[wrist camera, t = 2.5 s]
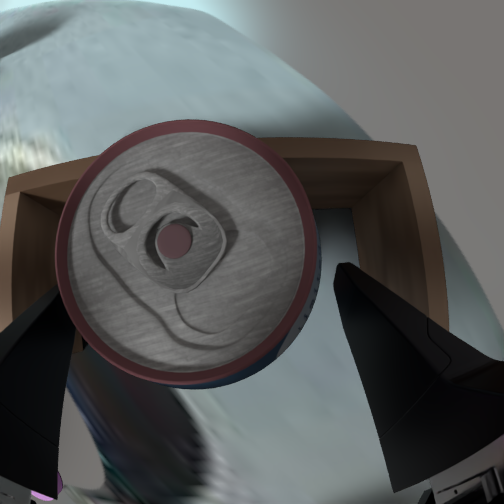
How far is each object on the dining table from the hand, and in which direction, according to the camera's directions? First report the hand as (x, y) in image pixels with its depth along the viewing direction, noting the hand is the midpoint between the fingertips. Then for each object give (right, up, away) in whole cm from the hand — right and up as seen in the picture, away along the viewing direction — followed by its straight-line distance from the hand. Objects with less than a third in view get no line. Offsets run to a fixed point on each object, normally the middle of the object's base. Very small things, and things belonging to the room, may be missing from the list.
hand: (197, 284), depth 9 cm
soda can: (-1, -1, +9) cm, 9 cm away
